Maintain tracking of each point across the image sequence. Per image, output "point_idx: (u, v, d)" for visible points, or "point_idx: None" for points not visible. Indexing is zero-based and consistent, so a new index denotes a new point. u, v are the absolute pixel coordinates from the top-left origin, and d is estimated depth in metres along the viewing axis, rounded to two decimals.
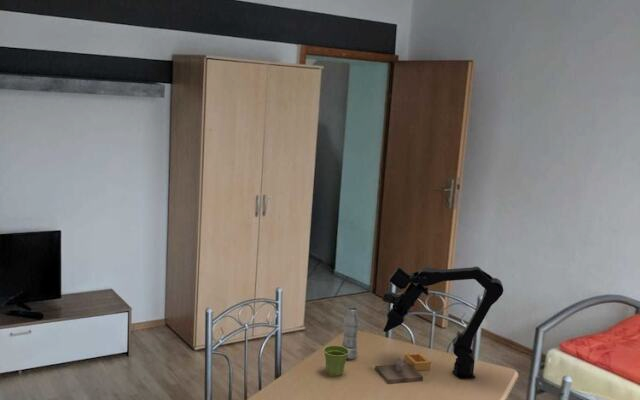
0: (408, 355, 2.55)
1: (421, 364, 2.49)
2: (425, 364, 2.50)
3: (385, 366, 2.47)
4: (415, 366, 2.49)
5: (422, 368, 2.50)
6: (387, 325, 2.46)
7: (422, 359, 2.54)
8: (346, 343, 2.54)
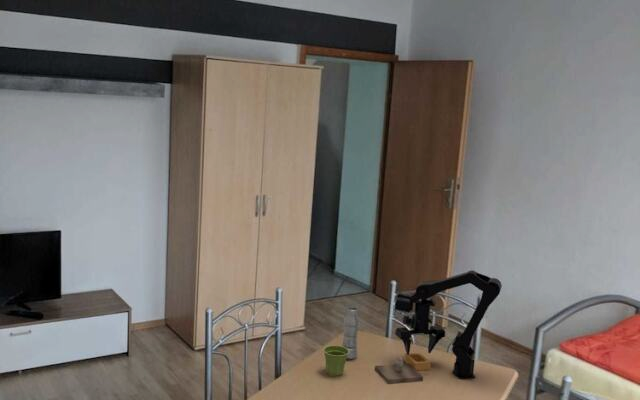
0: (408, 355, 2.55)
1: (421, 364, 2.49)
2: (425, 364, 2.50)
3: (385, 366, 2.47)
4: (415, 366, 2.49)
5: (422, 368, 2.50)
6: (405, 347, 2.52)
7: (422, 359, 2.54)
8: (346, 343, 2.54)
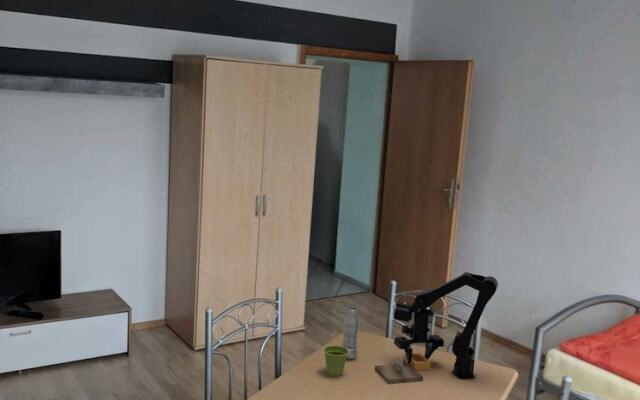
0: None
1: (421, 364, 2.49)
2: (425, 364, 2.50)
3: (385, 366, 2.47)
4: (415, 366, 2.49)
5: (422, 368, 2.50)
6: (407, 356, 2.53)
7: (422, 359, 2.54)
8: (346, 343, 2.54)
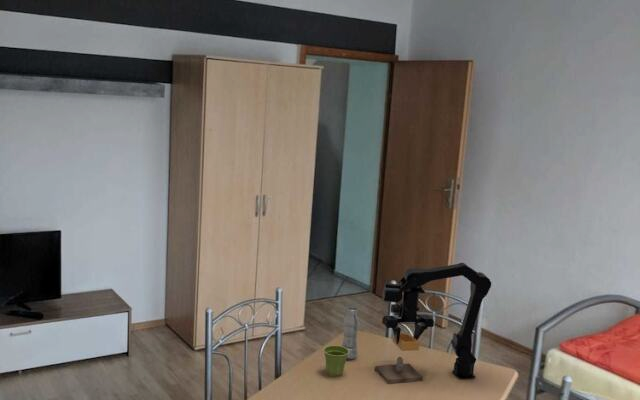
0: None
1: (409, 344, 2.41)
2: (413, 344, 2.41)
3: (385, 366, 2.47)
4: (403, 346, 2.40)
5: (410, 348, 2.41)
6: (395, 336, 2.44)
7: (411, 339, 2.46)
8: (346, 343, 2.54)
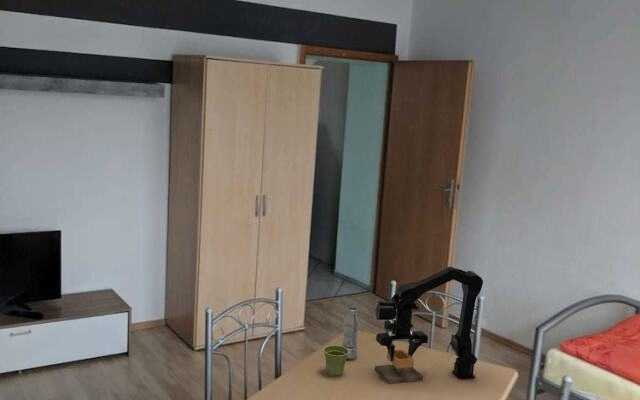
0: None
1: (404, 361, 2.39)
2: (408, 361, 2.39)
3: (385, 366, 2.47)
4: (397, 363, 2.38)
5: (405, 365, 2.39)
6: (389, 353, 2.42)
7: (405, 356, 2.44)
8: (346, 343, 2.54)
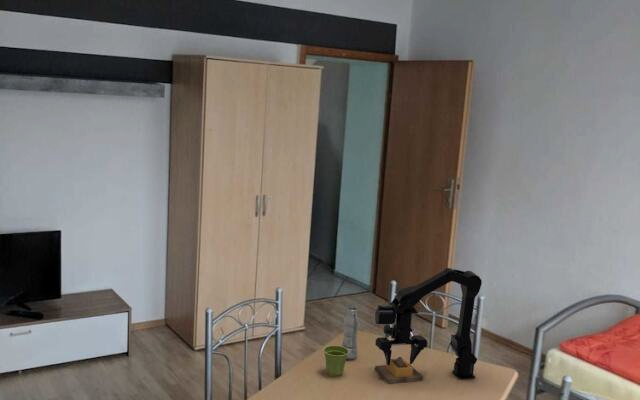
0: (390, 360, 2.45)
1: (403, 370, 2.39)
2: (407, 370, 2.40)
3: (385, 366, 2.47)
4: (397, 372, 2.39)
5: (404, 374, 2.40)
6: (386, 358, 2.42)
7: (404, 365, 2.44)
8: (346, 343, 2.54)
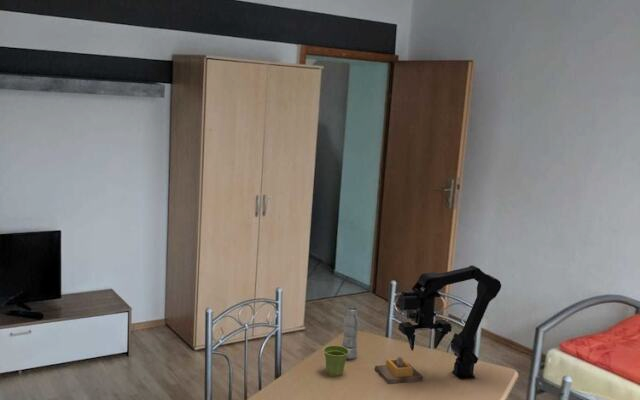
0: (390, 360, 2.45)
1: (403, 370, 2.39)
2: (407, 370, 2.40)
3: (385, 366, 2.47)
4: (397, 372, 2.39)
5: (404, 374, 2.40)
6: (409, 342, 2.39)
7: (404, 365, 2.44)
8: (346, 343, 2.54)
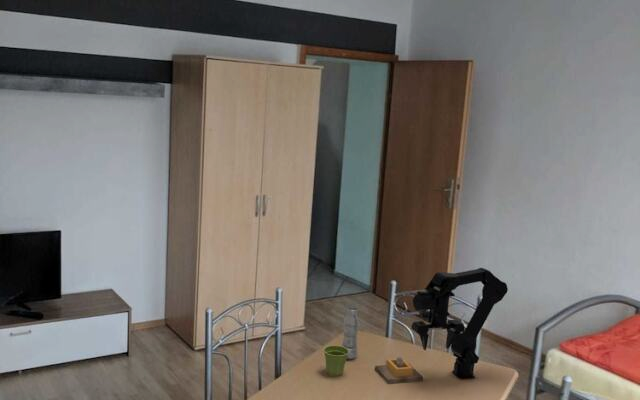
0: (390, 360, 2.45)
1: (403, 370, 2.39)
2: (407, 370, 2.40)
3: (385, 366, 2.47)
4: (397, 372, 2.39)
5: (404, 374, 2.40)
6: (422, 342, 2.38)
7: (404, 365, 2.44)
8: (346, 343, 2.54)
